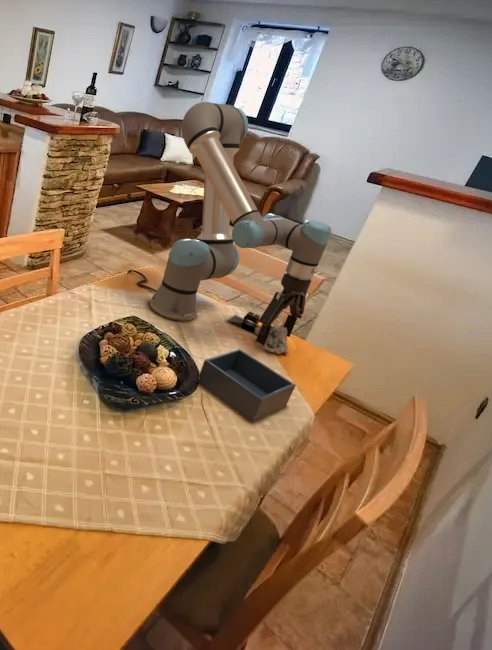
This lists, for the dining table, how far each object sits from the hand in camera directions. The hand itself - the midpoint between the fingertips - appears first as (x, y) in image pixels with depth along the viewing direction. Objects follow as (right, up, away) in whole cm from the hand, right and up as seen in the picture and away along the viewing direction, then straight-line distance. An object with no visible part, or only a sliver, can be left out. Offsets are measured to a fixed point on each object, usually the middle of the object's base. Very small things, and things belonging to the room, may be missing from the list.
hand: (272, 338), depth 153 cm
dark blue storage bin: (-18, -13, -24) cm, 32 cm away
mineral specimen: (-1, -3, +2) cm, 3 cm away
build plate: (-3, +3, +12) cm, 13 cm away
